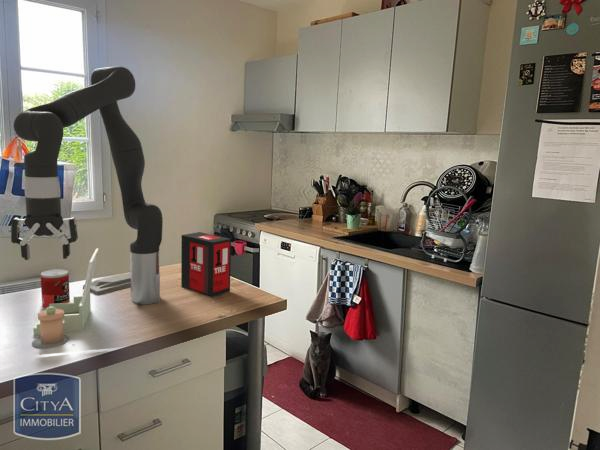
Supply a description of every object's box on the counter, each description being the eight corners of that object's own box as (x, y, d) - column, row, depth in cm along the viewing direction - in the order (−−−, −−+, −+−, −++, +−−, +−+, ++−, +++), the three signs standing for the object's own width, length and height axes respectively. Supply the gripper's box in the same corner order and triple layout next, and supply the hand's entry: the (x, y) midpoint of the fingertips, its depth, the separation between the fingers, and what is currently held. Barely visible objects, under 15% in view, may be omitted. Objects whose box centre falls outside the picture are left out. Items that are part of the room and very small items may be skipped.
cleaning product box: (181, 287, 164) (181, 235, 161) (199, 282, 171) (200, 232, 168) (212, 297, 155) (212, 242, 151) (229, 291, 162) (231, 238, 158)
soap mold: (82, 290, 157) (81, 280, 157) (131, 278, 173) (131, 269, 173) (97, 296, 152) (97, 287, 151) (147, 284, 168) (147, 275, 167)
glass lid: (88, 285, 135) (91, 285, 135) (80, 303, 120) (83, 303, 120) (96, 248, 133) (98, 248, 134) (89, 261, 119) (92, 262, 119)
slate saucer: (71, 335, 120) (71, 332, 120) (65, 348, 112) (65, 346, 112) (36, 338, 117) (36, 335, 117) (28, 352, 109) (28, 349, 109)
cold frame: (90, 312, 136) (89, 287, 135) (83, 333, 121) (82, 305, 120) (47, 314, 132) (45, 289, 131) (33, 337, 118) (32, 308, 116)
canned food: (58, 311, 136) (56, 277, 134) (36, 308, 137) (34, 274, 135) (75, 303, 143) (74, 270, 141) (54, 300, 145) (52, 268, 143)
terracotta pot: (63, 343, 113) (61, 309, 111) (36, 346, 111) (34, 311, 109) (67, 334, 118) (65, 301, 117) (42, 336, 117) (40, 303, 115)
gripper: (4, 196, 102) (9, 263, 105) (72, 197, 107) (75, 261, 109) (13, 192, 109) (18, 256, 112) (77, 193, 113) (80, 254, 116)
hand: (46, 258), depth 111 cm, fingers open, 8 cm apart
